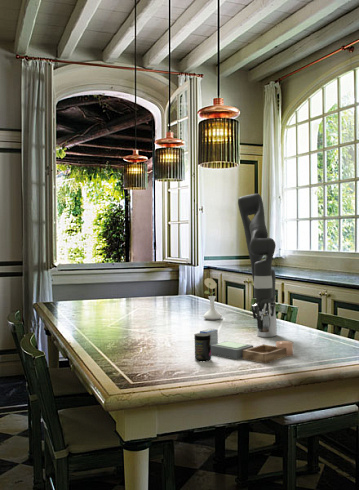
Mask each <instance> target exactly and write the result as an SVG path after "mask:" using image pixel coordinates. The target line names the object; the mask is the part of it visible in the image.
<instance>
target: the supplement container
mask: <svg viewBox="0 0 359 490" xmlns="http://www.w3.org/2000/svg"><path fill="white" fill-rule="evenodd" d="M194 360H195V361H197V362H200V361H202V362H203V361H205V362H209V360H210V361H211V360H212V354H211V334H209V333H200V332H199V333H195V334H194ZM203 363H204V362H203Z"/></svg>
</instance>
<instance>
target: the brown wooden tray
mask: <svg viewBox="0 0 359 490" xmlns="http://www.w3.org/2000/svg"><path fill="white" fill-rule="evenodd" d="M286 357H287V356H286V348H280V347H276V345H269V344H265V343H264V344H261V345H256V346H253V347H252V348H249V349H245V350H243V358H242V360H248V361H253V362H258V363H262V364H267V363H270V362H273V361H277V360H280V359H283V358H286Z"/></svg>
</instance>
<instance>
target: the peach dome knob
mask: <svg viewBox="0 0 359 490" xmlns="http://www.w3.org/2000/svg"><path fill="white" fill-rule="evenodd" d="M275 346H276V347H280V348H286V357H292V356H293V355H294V342H293V341H290V340H278V341H275Z"/></svg>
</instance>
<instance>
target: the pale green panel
mask: <svg viewBox="0 0 359 490" xmlns="http://www.w3.org/2000/svg"><path fill="white" fill-rule="evenodd" d="M226 341H227V342H226ZM226 341H223V342H224V343H222V342H219V343H220V344H216V346H221V347H227V348H233V349H239V348H242V347H246V346H248V345H249V344H248V345H246V344H245V343H242V344H240V343H241V342H236V343H234V342H235V341H230V342H228V340H226Z"/></svg>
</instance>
